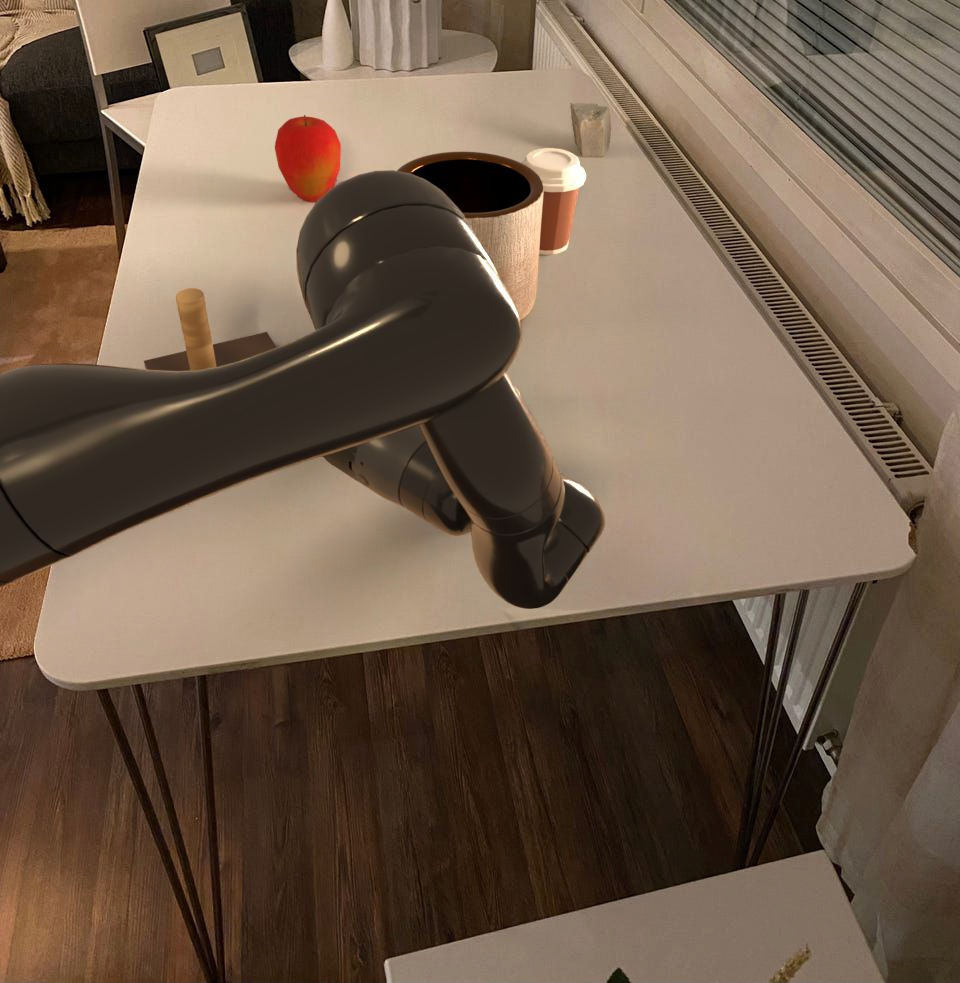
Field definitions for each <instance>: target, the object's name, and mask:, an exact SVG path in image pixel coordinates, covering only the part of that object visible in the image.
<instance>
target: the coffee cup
mask: <svg viewBox="0 0 960 983" xmlns="http://www.w3.org/2000/svg"><path fill="white" fill-rule="evenodd" d="M521 163H522V164H524V165H526V166H528V167H529V168H531V169H532V170H533V171H535V172H536V173H537V174H538V175H539V177H540V178H541V180H542V182H543V186H544V193H543V206H542V219H541V232H540V247H539V255H541V256H554V255H557V254H561V253H563V252H565V251H566V250H567V248H568V246H569V241H570V236H571V231H572V226H573V221H574V215H575V210H576V206H577V200H578V195H579V190H580V187H582V186H584V183H585V182H586V179H587V174H586V173H587V172H586V171H585V169H584V167H583V166H581V164H580V160H579V157H578V156H577V155H576V154H574V153H572V152H571V151H568V150H566V149H563V148H556V147H555V148H554V147H544V148H543V147H542V148H536V149H534V150H531V151H530V152H528V153H527V154H526V155H525V157H524V160H523V161H522V162H521Z"/></svg>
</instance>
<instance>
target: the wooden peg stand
mask: <svg viewBox="0 0 960 983" xmlns="http://www.w3.org/2000/svg"><path fill="white" fill-rule="evenodd" d="M175 302H176V306H177V312H178V316H179V321H180V326H181V330H182V331H181V332H182V336H183V341H184V346H185V351H186V352H187V357H188V362H189V367H190V371H191V370H202V369H208V368H214V367H217V366H216V360H215V355H214V349H213V344H214V343H213V339H212V333H211V327H210V321H209V316H208V315H209V314H208V310H207V305H206V299H205V294H204V291H203V290H201V289H199V288H194V287H189V288H184V289H181V290H179V291H178V292H177V293H176V294H175Z"/></svg>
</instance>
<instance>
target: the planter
mask: <svg viewBox="0 0 960 983" xmlns="http://www.w3.org/2000/svg"><path fill="white" fill-rule="evenodd" d="M396 171H400V172H405V173H410V174H413V175H415V176H418V177H420V178H423V179H425V180H427V181H428V182H430V183H431V184H433V185H434V186H436V187H437V188H439V189H440V190H442V191H443V192H444V193H445V194H446V195H447V196H448V197H449V199H450V200H451V201H452V202H453V203H454V204H455V205H456V206H457V207H458V208H459V209H460V211H461V212H462V213H463V215H464V216H465V218H466V220H467V221H468V223H469V225H470V226H471V228H472V230H473V231H474V233H475V234H476V236H477V238H478V240H479V241H480V243H481V245H482V247H483V248H484V250H485V252H486V254H487V255H488V257H489V259H490V261H491V263H492V264H493V266H494V268H495V270H496V272H497V274H498V276H499V277H500V278H501V280H502V282H503V284H504V286H505V287H506V289H507V291H508V293H509V295H510V297H511V299H512V301H513V303H514V305H515V307H516V309H517V312H518V315H519V318H520V321H521V322H522V321H523V320H524V319H525V318H526V317H527V316H528V315H529V314H530V313H531V312H532V310H533V308H534V306H535V303H536V298H537V291H538V290H537V289H538V277H539V276H538V275H539V260H540V254H539V247H540V232H541V219H542V206H543V193H544V186H543V182H542V180H541V178H540V177H539V175H538V174H537V173H536V172H535V171H533V170H532V169H531V168H529V167H528V166H526V165H524V164H522V162H520V161H517V160H515V159H512V158H509V157H506V156H502V155H498V154H495V153H487V152H478V151H447V152H446V151H445V152H437V153H432V154H427V155H423V156H419V157H417V158H415V159H413V160H410V161H408V162H406V163H404V164H403V165H402V166H400V167H399V168H398V169H396Z"/></svg>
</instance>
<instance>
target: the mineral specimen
mask: <svg viewBox="0 0 960 983" xmlns="http://www.w3.org/2000/svg"><path fill="white" fill-rule="evenodd" d="M569 108H570V114H571V116H570V119H571V126H572V130H573V131H572V133H573V138H574V139H573V141H574V144H575V146H576V147H577V149H578V151H579V153H580V155H581V157H583V158H595V157H598V158H603V157H604V156H605V155H606V154H607V152H608V150H609V147H610V143H611V135H612V134H611V132H612V121H611V119H612V118H611V111H610V108H609V107H608V106H605V105H603V106H601V105H600V106H599V105H598V104H597V103H586V102H585V103H582V102H581V103H580V102H575V103H570V107H569Z"/></svg>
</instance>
